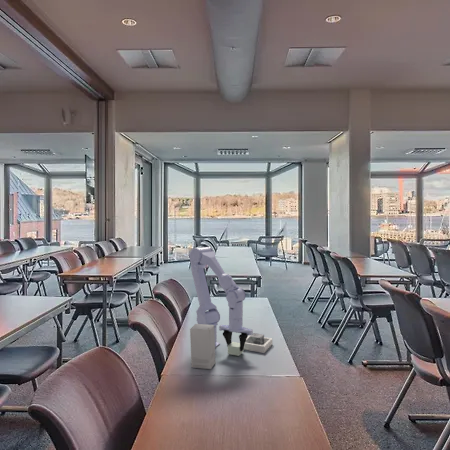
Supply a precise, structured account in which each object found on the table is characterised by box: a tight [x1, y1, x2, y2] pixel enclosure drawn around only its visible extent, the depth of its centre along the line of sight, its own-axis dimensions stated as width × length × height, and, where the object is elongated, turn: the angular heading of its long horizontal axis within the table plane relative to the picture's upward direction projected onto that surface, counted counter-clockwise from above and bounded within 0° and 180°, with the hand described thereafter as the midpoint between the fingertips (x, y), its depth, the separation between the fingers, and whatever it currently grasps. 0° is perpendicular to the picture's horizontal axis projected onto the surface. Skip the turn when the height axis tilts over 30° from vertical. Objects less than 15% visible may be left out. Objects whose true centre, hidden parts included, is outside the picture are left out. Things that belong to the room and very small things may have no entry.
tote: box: [243, 335, 273, 354], centre depth 167 cm, size 11×11×3 cm
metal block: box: [250, 332, 265, 345], centre depth 167 cm, size 5×5×4 cm
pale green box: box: [227, 341, 244, 357], centre depth 158 cm, size 5×5×4 cm
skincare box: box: [189, 323, 216, 370], centre depth 147 cm, size 8×7×16 cm
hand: (235, 349), depth 158 cm, fingers closed on pale green box, 5 cm apart
